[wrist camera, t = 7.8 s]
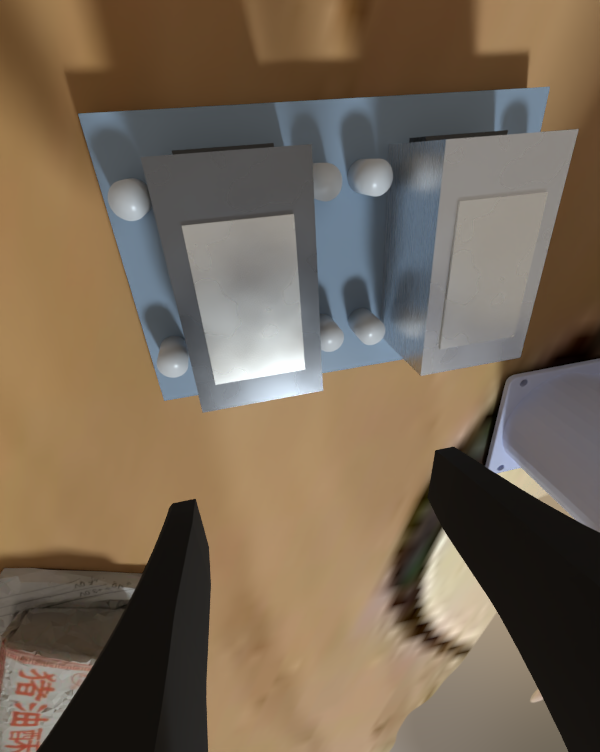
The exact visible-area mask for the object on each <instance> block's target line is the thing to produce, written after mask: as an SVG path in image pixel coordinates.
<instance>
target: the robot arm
mask: <svg viewBox="0 0 600 752" xmlns="http://www.w3.org/2000/svg"><path fill="white" fill-rule="evenodd" d="M521 381H522V382H521ZM517 468H522V469H523V470H524V471H525V472H526V473H527V474H528V475H529V476H530V477H531V478H533V479H534V480H535V481H536V482H537V483H538V484H539V485H540V486H541V487H542V488H543V489H544V490H545V491H546V492H547V493H548V494H549V495H550V496H551V497H552V498H553V499H554V500H555V501H556V502H558V503H559V504H560V505H561V506H562V507H563V508H564V509H565V510H566V511H567V512H568V513H569V514H570V515H571V516H572V517H573V518H574V519H575V520H574V519H572V518H570V517H568V516H567V515H565V514H563V513H561V512H559V511H558V510H556V509H554V508H552V507H550V506H549V505H547V504H545V503H543V502H541V501H540V500H538V499H537V498H535V497H533V496H531V495H530V494H528V493H526V492H525V491H523V490H522V489H520V488H518V487H517V486H515V485H513V484H512V483H510V482H509V481H507V480H505V479H504V478H502V477H501V476H499V475H498V474H496V473H500V472H504V471H508V470H513V469H517ZM428 499H429V501H430V503H431V506H432V508H433V510H434V512H435V514H436V516H437V518H438V520H439V522H440V524H441V525H442V527H443V529H444V531H445V532H446V534H447V535H448V537H449V539H450V540H451V542H452V543H453V545H454V546H455V548H456V549H457V551H458V552H459V554H460V555H461V557H462V558H463V560H464V561H465V563H466V564H467V566H468V567H469V569H470V570H471V572H472V573H473V575H474V576H475V578H476V579H477V581H478V582H479V584H480V585H481V587H482V588H483V590H484V591H485V593H486V594H487V596H488V597H489V599H490V601H491V602H492V604H493V605H494V607H495V609H496V610H497V612H498V614H499V615H500V617H501V619H502V621H503V623H504V624H505V626H506V628H507V630H508V632H509V634H510V635H511V637H512V639H513V641H514V643H515V645H516V646H517V648H518V650H519V652H520V654H521V656H522V658H523V660H524V662H525V663H526V666H527V668H528V669H529V671H530V673H531V675H532V677H533V679H534V681H535V683H536V685H537V687H538V689H539V691H540V693H541V695H542V697H543V699H544V701H545V703H546V705H547V707H548V709H549V711H550V713H551V715H552V718H553V720H554V722H555V724H556V726H557V728H558V730H559V732H560V734H561V736H562V738H563V740H564V743H565V745H566V747H567V749H568V752H600V358H599V359H594V360H588V361H583V362H578V363H573V364H567V365H562V366H557V367H552V368H546V369H541V370H536V371H531V372H525V373H520V374H515V375H512V376H510V377H509V378H508V379H507V380H506V383H505V387H504V391H503V395H502V399H501V403H500V407H499V411H498V415H497V420H496V424H495V428H494V432H493V436H492V440H491V444H490V448H489V453H488V457H487V461H486V465H485V466H483V465H482V464H480V463H479V462H477V461H476V460H474V459H473V458H471V457H469V456H468V455H466V454H465V453H463V452H461V451H460V450H458V449H457V448H455V447H450V448H445V449H440V450H435V456H434V462H433V468H432V474H431V480H430V487H429V493H428ZM210 591H211V579H210V560H209V546H208V542H207V539H206V535H205V531H204V528H203V524H202V520H201V517H200V513H199V510H198V506H197V502H196V499H193V500H188V501H183V502H178V503H173V504H172V505H171V506H170V508H169V511H168V514H167V517H166V519H165V522H164V525H163V527H162V530H161V532H160V535H159V537H158V540H157V542H156V545H155V547H154V549H153V552H152V554H151V556H150V558H149V561H148V563H147V565H146V567H145V569H144V571H143V574H142V576H141V578H140V580H139V582H138V584H137V586H136V588H135V590H134V592H133V594H132V596H131V598H130V600H129V602H128V604H127V606H126V608H125V610H124V612H123V614H122V615H121V617H120V619H119V621H118V623H117V625H116V627H115V629H114V630H113V632H112V634H111V636H110V637H109V639H108V641H107V643H106V644H105V646H104V648H103V650H102V651H101V653H100V655H99V656H98V658H97V660H96V661H95V663H94V665H93V666H92V668H91V670H90V671H89V673H88V675H87V676H86V678H85V679H84V681H83V682H82V684H81V686H80V687H79V689H78V690H77V692H76V693H75V695H74V696H73V698H72V700H71V701H70V703H69V704H68V706H67V707H66V709H65V710H64V712H63V713H62V715H61V716H60V718H59V719H58V721H57V722H56V724H55V725H54V727H53V728H52V730H51V731H50V733H49V734H48V736H47V737H46V738H45V740H44V741H43V743H42V744H41V745H40V747H39V748H38V750H37V751H36V752H208V738H207V707H206V677H207V656H208V635H209V614H210Z"/></svg>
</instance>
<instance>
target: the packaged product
mask: <svg viewBox="0 0 600 752" xmlns="http://www.w3.org/2000/svg"><path fill="white" fill-rule="evenodd" d="M141 576H142V574H141V573H122V572H104V571H73V570H45V569H37V568H4V569H3V571H2V572H1V574H0V752H36V751H37V750H38V748H39V747H40V745H41V744H42V743H43V741H44V740H45V738H46V737H47V736H48V734H49V733H50V731H51V730H52V728H53V727H54V725H55V724H56V722H57V721H58V719H59V718H60V716H61V715H62V713H63V712H64V710H65V709H66V707H67V706H68V704H69V703H70V701H71V700H72V698H73V696H74V695H75V693H76V692H77V690H78V689H79V687H80V686H81V684H82V682H83V681H84V679H85V678H86V676H87V675H88V673H89V671H90V670H91V668H92V666H93V665H94V663H95V661H96V660H97V658H98V656H99V655H100V653H101V651H102V650H103V648H104V646H105V644H106V643H107V641H108V639H109V637H110V636H111V634H112V632H113V630H114V629H115V627H116V625H117V623H118V621H119V619H120V617H121V615H122V614H123V612H124V610H125V608H126V606H127V604H128V602H129V600H130V598H131V596H132V594H133V592H134V590H135V588H136V586H137V584H138V582H139V580H140V578H141Z"/></svg>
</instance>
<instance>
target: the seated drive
mask: <svg viewBox="0 0 600 752" xmlns="http://www.w3.org/2000/svg"><path fill="white" fill-rule="evenodd" d="M578 130H579V129H573V130H560V131H547V132H535V133H522V134H509V135H507V133H508V130H503V131H489V132H476V133H463V134H450V135H437V136H424V137H415V138H410V141H409V143H400V144H389V148H388V163H389V164H390V165H391V167H392V171H393V180H392V184H391V186H390V188H389V189H388V190H387V195H386V218H385V241H384V264H383V287H382V311H381V322H382V323H383V324H384V326H385V334H384V337H383V339H384V340H385V341H386V342H387V343H388V344H389V345H390V346H391V347H392V348H393V349H394V350H395V351H396V352H397V353H398V354H399V355H400V356H401V357H402V358H403V359H404V360H405V361H406V362H407V363H408V364H409V365H410V366H411V367H412V368H413V369H414V370H415V371H416V372H417V373H418V374H419V375H420V376H422V375H427V374H433V373H438V372H444V371H449V370H455V369H460V368H466V367H471V366H477V365H482V364H488V363H493V362H499V361H504V360H509V359H515V358H520V357H521V353H522V349H523V345H524V341H525V337H526V333H527V329H528V326H529V322H530V318H531V314H532V310H533V306H534V302H535V298H536V294H537V290H538V286H539V283H540V279H541V275H542V271H543V267H544V263H545V259H546V255H547V251H548V247H549V243H550V239H551V236H552V232H553V228H554V224H555V220H556V216H557V212H558V208H559V204H560V200H561V196H562V193H563V189H564V185H565V181H566V177H567V173H568V169H569V165H570V161H571V157H572V153H573V150H574V146H575V142H576V138H577V134H578Z"/></svg>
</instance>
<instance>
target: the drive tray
mask: <svg viewBox="0 0 600 752" xmlns="http://www.w3.org/2000/svg"><path fill="white" fill-rule="evenodd" d="M549 88H550V87H538V88H521V89H503V90H486V91H468V92H450V93H433V94H415V95H398V96H380V97H362V98H345V99H327V100H310V101H292V102H274V103H257V104H239V105H222V106H204V107H187V108H169V109H151V110H134V111H116V112H99V113H81V114H78V116H79V119H80V122H81V126H82V129H83V132H84V136H85V139H86V142H87V146H88V149H89V152H90V156H91V159H92V162H93V166H94V169H95V172H96V176H97V179H98V182H99V186H100V189H101V192H102V195H103V199H104V202H105V205H106V209H107V212H108V215H109V219H110V222H111V225H112V229H113V232H114V235H115V239H116V242H117V245H118V249H119V252H120V255H121V259H122V262H123V265H124V269H125V272H126V275H127V278H128V282H129V285H130V288H131V292H132V295H133V298H134V302H135V305H136V308H137V312H138V315H139V318H140V322H141V325H142V328H143V332H144V335H145V338H146V342H147V345H148V348H149V352H150V355H151V358H152V361H153V365H154V368H155V371H156V375H157V378H158V381H159V385H160V388H161V391H162V395H163V398H164V401H166V400H171V399H177V398H183V397H189V396H194V395H198V391H197V387H196V383H195V379H194V374H193V370H192V366H191V362H190V358H189V354H188V350H187V346H186V342H185V338H184V334H183V329H182V325H181V321H180V317H179V313H178V309H177V305H176V301H175V297H174V293H173V288H172V284H171V280H170V276H169V272H168V268H167V264H166V260H165V256H164V252H163V248H162V243H161V239H160V235H159V231H158V227H157V223H156V219H155V215H154V211H153V207H152V203H151V198H150V194H149V190H148V186H147V182H146V178H145V174H144V170H143V166H142V162H141V158H140V157H148V156H161V155H172V150H185V149H199V148H212V147H226V146H239V145H253V144H266V143H274V147H280V146H293V145H306V144H312V159H313V181H314V203H315V225H316V248H317V270H318V292H319V314H320V337H321V359H322V373H326V372H332V371H338V370H344V369H349V368H355V367H361V366H367V365H372V364H378V363H384V362H390V361H395V360H401V359H403V358H402V357H401V356H400V355H399V354H398V353H397V352H396V351H395V350H394V349H393V348H392V347H391V346H390V345H389V344H388V343H387V342H386V341H385V340H384V339H383V337H384V334H385V326H384V324H383V323H382V322H381V311H382V287H383V264H384V241H385V218H386V195H387V190H388V189H389V188H390V186H391V184H392V180H393V171H392V167H391V165H390V164H389V163H388V148H389V144H400V143H409V141H410V138H415V137H424V136H437V135H450V134H463V133H476V132H489V131H503V130H508V133H507V135H509V134H522V133H535V132H540V131H541V126H542V121H543V117H544V112H545V107H546V103H547V98H548V93H549Z"/></svg>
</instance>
